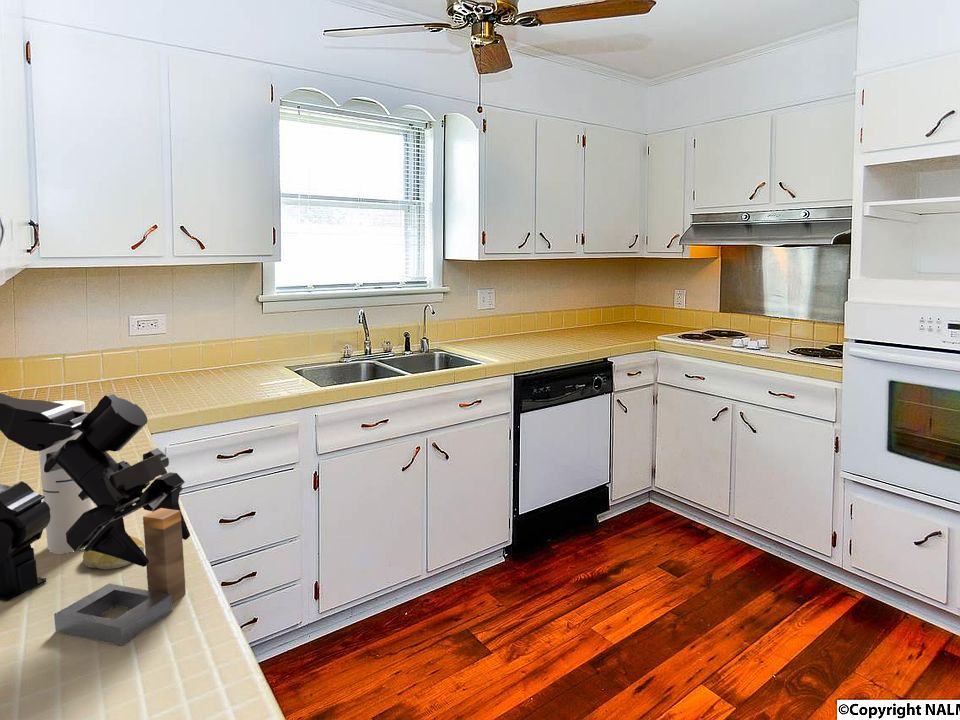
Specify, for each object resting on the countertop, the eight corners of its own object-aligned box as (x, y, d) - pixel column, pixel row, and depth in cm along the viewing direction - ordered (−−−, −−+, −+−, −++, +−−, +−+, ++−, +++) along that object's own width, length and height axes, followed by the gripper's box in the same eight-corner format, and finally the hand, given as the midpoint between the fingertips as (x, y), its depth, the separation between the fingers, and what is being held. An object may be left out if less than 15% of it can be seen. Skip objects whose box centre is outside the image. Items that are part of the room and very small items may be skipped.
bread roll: (111, 546, 116) (109, 524, 115) (153, 553, 113) (151, 531, 113) (69, 566, 108) (67, 543, 108) (113, 574, 106) (112, 550, 105)
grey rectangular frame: (55, 631, 89) (54, 614, 89) (110, 599, 98) (109, 583, 97) (121, 645, 86) (120, 627, 86) (172, 611, 94) (171, 594, 94)
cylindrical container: (92, 550, 114) (80, 407, 110) (43, 556, 111) (29, 410, 108) (98, 534, 121) (88, 399, 117) (52, 539, 118) (40, 401, 114)
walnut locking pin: (148, 601, 97) (142, 516, 95) (166, 590, 100) (161, 507, 99) (168, 605, 96) (162, 519, 94) (185, 593, 99) (180, 510, 98)
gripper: (76, 455, 87) (157, 543, 86) (169, 422, 105) (237, 494, 104) (31, 508, 89) (109, 594, 89) (129, 467, 107) (195, 537, 107)
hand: (168, 550), depth 97 cm, fingers open, 9 cm apart
